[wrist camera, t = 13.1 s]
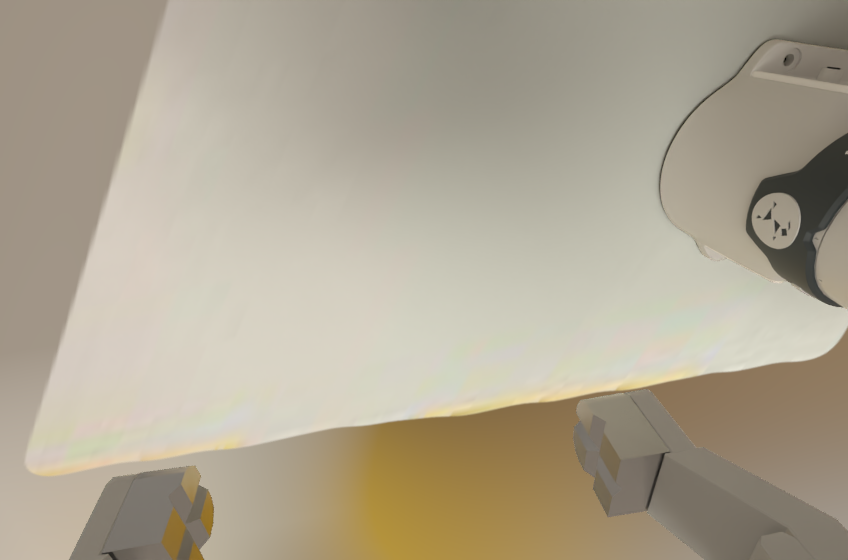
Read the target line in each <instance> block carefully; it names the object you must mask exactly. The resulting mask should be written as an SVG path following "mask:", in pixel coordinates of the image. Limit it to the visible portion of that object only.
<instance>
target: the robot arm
mask: <svg viewBox="0 0 848 560" xmlns="http://www.w3.org/2000/svg"><path fill="white" fill-rule="evenodd" d="M786 56H787V58H786V61H785V62H784V63H783V61H784V59H785V57H786ZM660 194H661V201H662V205H663V208H664V210H665V213H666V214H667V216H668V218H669V219H670V221H671V222H672V223H673V224H674V225H675V226H676V227H677V228H679V229H680V230H682V231H683V232H685V233H687V234H688V235H690V236H691V237H693V238H694V239H695V241H696V243H697V245H698V248H699V250H700V251H701V253H702V254H703V255H704V256H705V257H707V258H709V259H711V260H713V261H720V260H723V259H727V258H728V259H730V260H731V261H733V262H735V263H737V264H739V265H741V266H743V267H744V268H746V269H748V270H750V271H752V272H754V273H756V274H758V275H760V276H762V277H763V278H765V279H767V280H769V281H772V282H775V283H783V282H784V281H788V282H790V283H791V285H793V286H794V287H796V288H797V289H798V290H800V291H801V292H803V293H805V294H806V295H808V296H811V297H813V298H816V299H818V300H820V301H822V302H824V303H826V304H828V305H832V306H836V307H844V308H846V309H847V310H848V50H845V49H838V48H831V47H825V46H818V45H812V44H805V43H799V42H792V41H785V40H779V39H773V40H770V41H767V42H766V43H764V44H763V45H762V46H761V47H760V48H759V49H758V50H757V51H756V52H755V53H754V54H753V56H752V57H751V58H750V59H749V60H748V62H747V63H746V64H745V66H744V67H743V68H742V70H741V71H740V72H739V74H738V75H737V76H736V77H735V78H734V79H732V80H731V81H730V82H729V83H727V84H726V85H725V86H723V87H722V88H721V89H719V90H718V91H716V92H715V93H714V94H712V95H711V96H710V97H709V98H708V99H706V100H705V101H704V102H703V103H702V104H701V105H700V106H699V107H698V108H697V109H696V110H695V111H694V112H693V113H692V114H691V116H690V117H689V118H688V119H687V120H686V122H685V123H684V124H683V126H682V127H681V129H680V130H679V132H678V133H677V135H676V137H675V139H674V140H673V142H672V144H671V146H670V148H669V151H668V153H667V156H666V158H665V162H664V165H663V169H662V174H661V182H660ZM576 413H577V415H578V417H579V419H580V421H579V423H578V424H577V425H576V426H575V427H574V436H573V439H574V446H575V451H576V454H577V457H578V459H579V462H580V464H581V465H582V468H583V470H584V471H586V472H587V473H589V474H590V475H592V476H593V477H595V480H594V486H593V489H594V491H595V493H596V495H597V497H598V499H599V501H600V503H601V505H602V507H603V509H604V510H605V512H606V514H607V516H608V517H611V516H617V515H624V514H630V513H636V512H643V511H648V512H647V513H648V514H649V515H650V516H651V517H653V518H654V519H655V520H656V521H658V522H659V523H660V524H661V525H662V526H664V527H665V528H666V529H667V530H669V531H670V532H671V533H673V535H675V536H676V537H678V539H680V540H681V541H682V542H683V543H685V544H686V545H687V546H689V547H690V548H691V549H692V550H693V551H695V552H696V553H697V554H698V555H700V556H701V557H702V558H703V559H704V560H848V531H847V530H846V529H845V528H844V527H843V525H842V524H841V523H840V522H839V521H838V520H836V519H835V518H833V517H832V516H829V515H828V514H826V513H824V512H822V511H820V510H819V509H817V508H815V507H813V506H811V505H809V504H807V503H806V502H804V501H802V500H800V499H798V498H796V497H795V496H793V495H791V494H789V493H787V492H785V491H784V490H782V489H780V488H778V487H776V486H774V485H772V484H771V483H769V482H767V481H765V480H763V479H761V478H760V477H758V476H755V475H753V474H752V473H750V472H748V471H747V470H745V469H743V468H741V467H739V466H737V465H736V464H734V463H732V462H730V461H728V460H726V459H724V458H722V457H721V456H719V455H717V454H715V453H713V452H712V451H710V450H708V449H706V448H704V447H700V448H696V447H695V446H694V444H693V443H692V442H691V441H690V439H689V438H688V437H687V436H686V434H685V433H684V432H683V431H682V429H681V428H680V427H679V426H678V424H677V423H676V422H675V421H674V419H673V418H672V417H671V416H670V414H669V413H668V412H667V411H666V409H665V408H664V407H663V406H662V404H661V403H660V402H659V401H658V399H657V398H656V397H655V396H654V394H653V393H652V392H651V391H649V390H647V389H645V390H639V391H633V392H627V393H619V394H613V395H608V396H602V397H597V398H592V399H586V400H581V401H580V402H579V403H578V405H577V411H576ZM200 478H201V475H200V473H199V471H198V470H197V468H196V466H186V467H179V468H172V469H164V470H158V471H150V472H143V473H138V474H131V475H124V476H118V477H113V478H112V479H111V480H110V481H109V482H108V483H107V484H106V486H105V488H104V490H103V492H102V494H101V496H100V498H99V500H98V502H97V504H96V506H95V508H94V510H93V512H92V514H91V516H90V518H89V520H88V522H87V524H86V526H85V528H84V530H83V532H82V534H81V536H80V539H79V540H78V542H77V544H76V547H75V549H74V551H73V553H72V555H71V557H70V559H69V560H204V558H203V556H202V554H201V552H200V548H201V547H202V546H203V545H204V544H205V543H206V541H207V540H208V539H209V538H210V535H211V530H212V527H213V516H214V514H213V513H214V507H213V502H212V497H211V495H210V493H209V491H208V489H206V488H204V487H202V486H200V485H199V481H200Z"/></svg>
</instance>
